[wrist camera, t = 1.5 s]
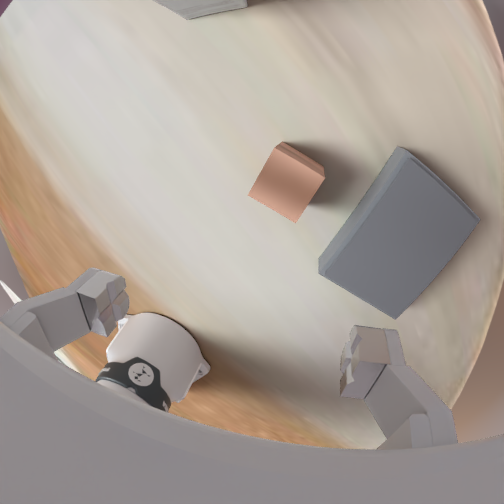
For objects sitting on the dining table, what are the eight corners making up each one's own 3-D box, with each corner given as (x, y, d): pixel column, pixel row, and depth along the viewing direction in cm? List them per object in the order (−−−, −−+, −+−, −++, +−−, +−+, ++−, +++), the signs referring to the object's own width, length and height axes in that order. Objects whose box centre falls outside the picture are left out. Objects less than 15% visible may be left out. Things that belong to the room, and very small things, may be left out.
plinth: (390, 303, 34) (396, 322, 30) (318, 258, 33) (318, 276, 30) (467, 209, 26) (483, 221, 22) (397, 146, 25) (408, 151, 22)
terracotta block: (299, 203, 31) (295, 223, 26) (260, 180, 30) (247, 195, 25) (323, 166, 28) (325, 177, 23) (282, 141, 28) (274, 147, 23)
